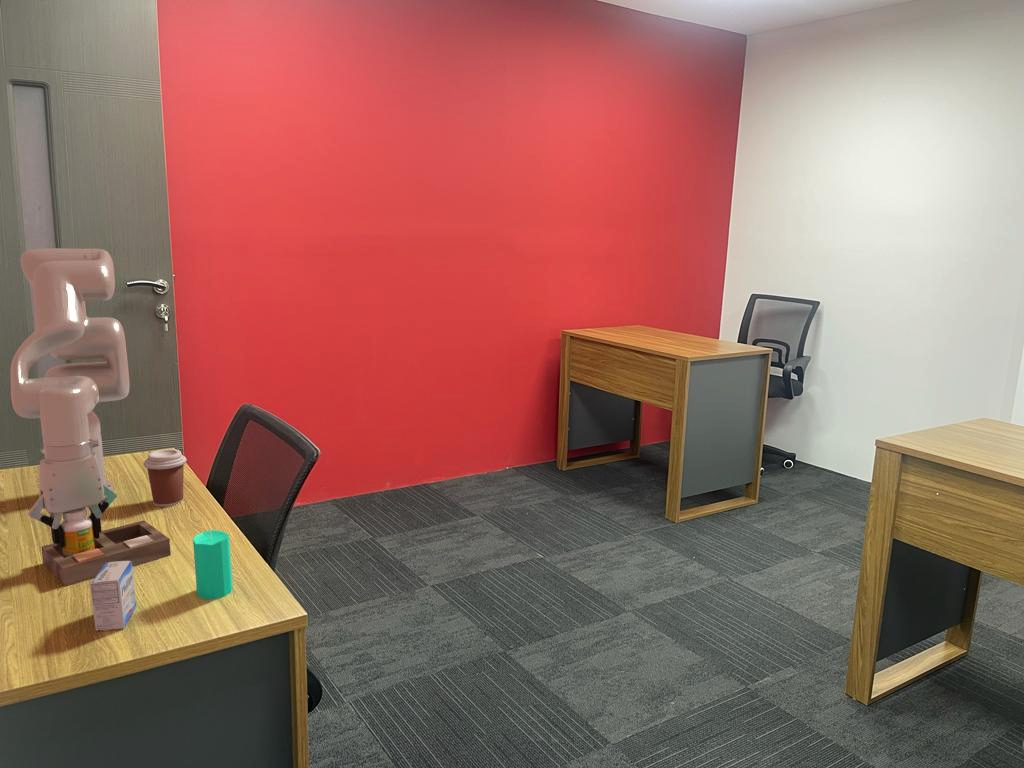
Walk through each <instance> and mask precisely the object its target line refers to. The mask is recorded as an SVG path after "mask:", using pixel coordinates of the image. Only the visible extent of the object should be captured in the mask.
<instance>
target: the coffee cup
mask: <svg viewBox="0 0 1024 768" xmlns="http://www.w3.org/2000/svg"><path fill="white" fill-rule="evenodd" d="M186 463H187V457H186V456H185V455H183V454H182V451H181V450H179V449H175V448H164V449H158V450H157V449H156V450H155V451H151V452H149V454H147V458H146V459H144V462H143V467H144V468H145V469H147V474H148V480H149V485H150V490H151V497H152V503H153V505H154V506H155V505H156V506H155V507H158V506H159V508H160V507H161V508H167V507H166V506H170V507H173V506H172V505H175V506H177V505H176V504H178V503H180V502H181V501H183V502H184V471H185V470H184V469H185V468H184V467H185V465H184V464H186ZM180 504H181V503H180ZM178 505H179V504H178Z"/></svg>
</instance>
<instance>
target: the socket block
mask: <svg viewBox="0 0 1024 768" xmlns="http://www.w3.org/2000/svg"><path fill="white" fill-rule="evenodd" d="M99 537H100V538H98V539H96V538H94V543H95V549H93V550H90V551H86V552H82V553H79V554H75V555H72V556H70V557H66V558H64V557H63V549H62V548H60V547H59V546H58V545H57V544H54V543H53V542H52V543H49V544H46V545H41V557H42V563H43V565H44V566H45V567H46V568H47V569H48V570H49V571H50V572H51V573H52V574H53V575H54V576H55V578H57V580H58V581H59V582H60V583H61V584H62V585H63V586H64V587H67V586H70V585H73V584H77V583H81V582H85V581H87V580H91V579H95V577H96V576H97V574H98V573H99V572H100V570H101V569H102V567H103V566H104V564H105V563H109V562H116V561H132V566H133V567H136V566H139V565H141V564H142V565H143V564H146V563H148V562H153V561H156V560H160V559H162V558H165V557H166V558H167V557H169V556H171V553H172V552H171V543H170V542H171V541H170V540H171V539H170V538H169V537H168V536H166V535H165V534H164V533H162V531H159V530H158V529H157V528H155V527H154V526H152V525H151V524H150V523H148V522H147V521H145V520H141V521H136V522H132V523H129V524H128V523H127V524H124V525H120V526H116V527H112V528H108V529H104V530H101V532H99Z"/></svg>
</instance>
